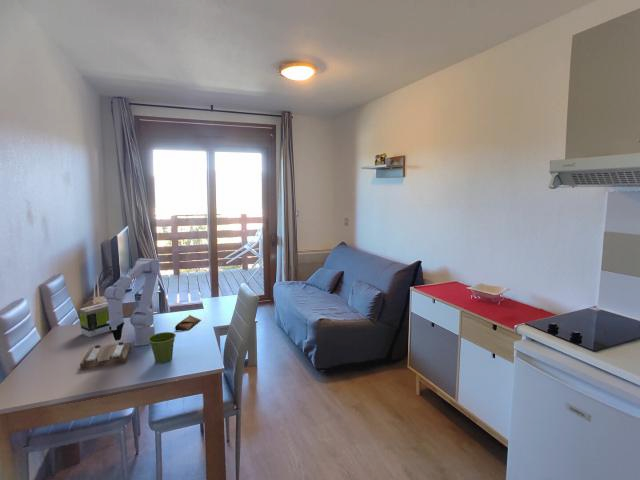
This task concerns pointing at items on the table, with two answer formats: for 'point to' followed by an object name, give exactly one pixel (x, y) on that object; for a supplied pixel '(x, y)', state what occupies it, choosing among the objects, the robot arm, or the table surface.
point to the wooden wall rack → (106, 356)
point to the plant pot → (162, 346)
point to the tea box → (94, 319)
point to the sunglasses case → (187, 323)
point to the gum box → (137, 300)
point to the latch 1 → (94, 354)
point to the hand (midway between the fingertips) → (118, 339)
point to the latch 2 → (118, 351)
